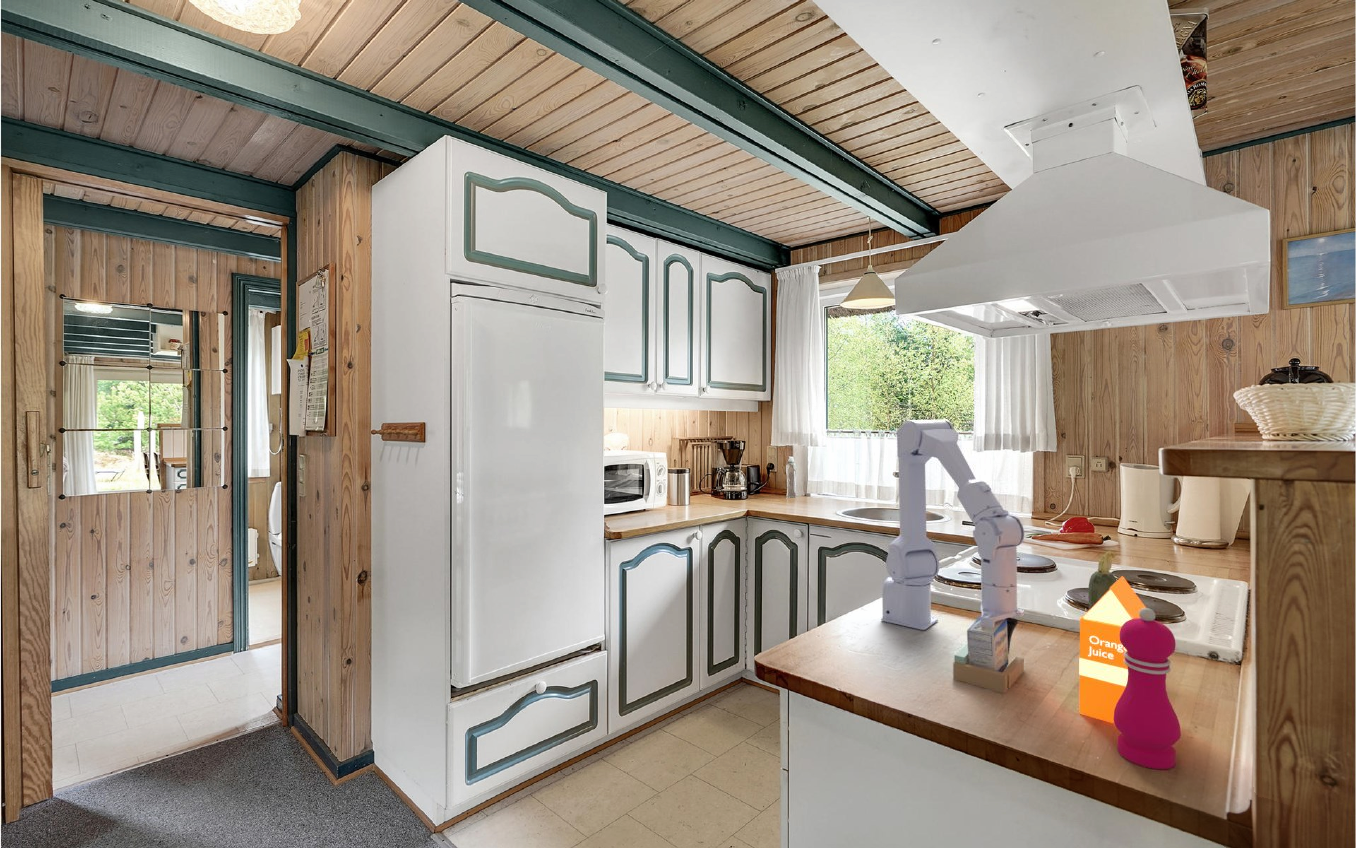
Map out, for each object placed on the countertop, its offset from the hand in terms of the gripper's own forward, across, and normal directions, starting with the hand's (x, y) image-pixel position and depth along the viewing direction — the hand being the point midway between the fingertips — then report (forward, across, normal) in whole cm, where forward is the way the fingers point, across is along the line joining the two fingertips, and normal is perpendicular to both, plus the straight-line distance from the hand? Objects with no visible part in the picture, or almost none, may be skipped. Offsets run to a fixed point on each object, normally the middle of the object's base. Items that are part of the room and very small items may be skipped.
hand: (999, 657), depth 115 cm
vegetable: (+2, +15, -13) cm, 20 cm away
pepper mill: (+2, -19, -23) cm, 30 cm away
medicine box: (+1, -5, 0) cm, 5 cm away
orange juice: (+2, -7, -18) cm, 20 cm away
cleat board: (+1, -1, 0) cm, 2 cm away
